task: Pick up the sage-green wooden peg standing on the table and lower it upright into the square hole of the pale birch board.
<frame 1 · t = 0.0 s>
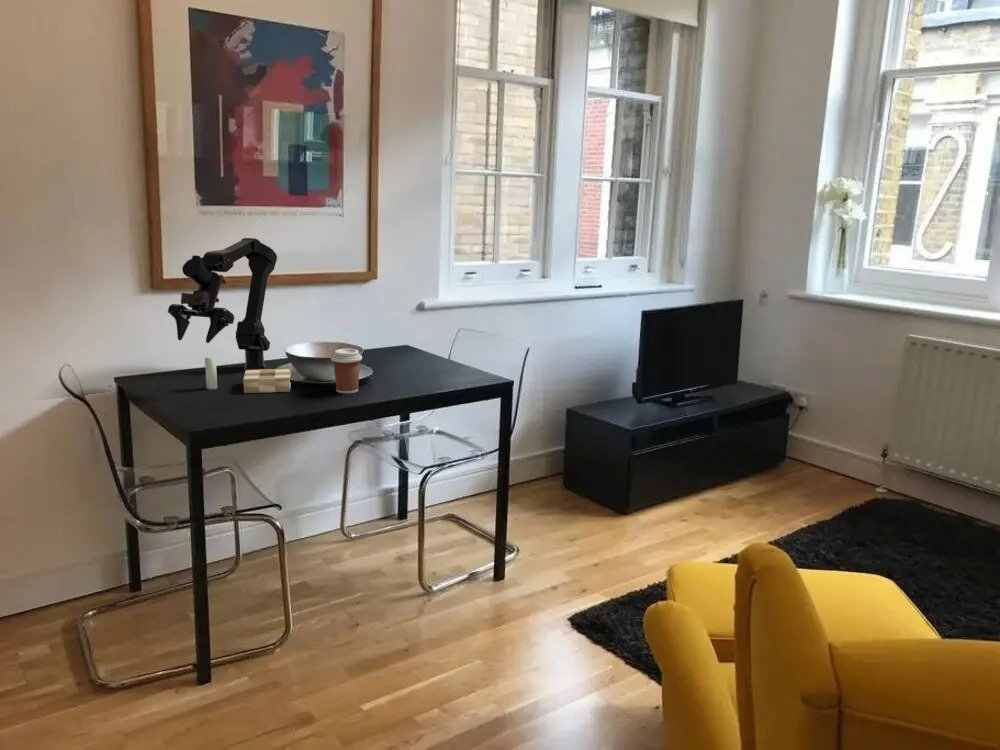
hand: (193, 341, 240), 15 cm above the table, fingers open, 9 cm apart
peg: (212, 388, 248), on the table
coffee cup: (347, 391, 249), on the table
hole board: (267, 387, 251), on the table
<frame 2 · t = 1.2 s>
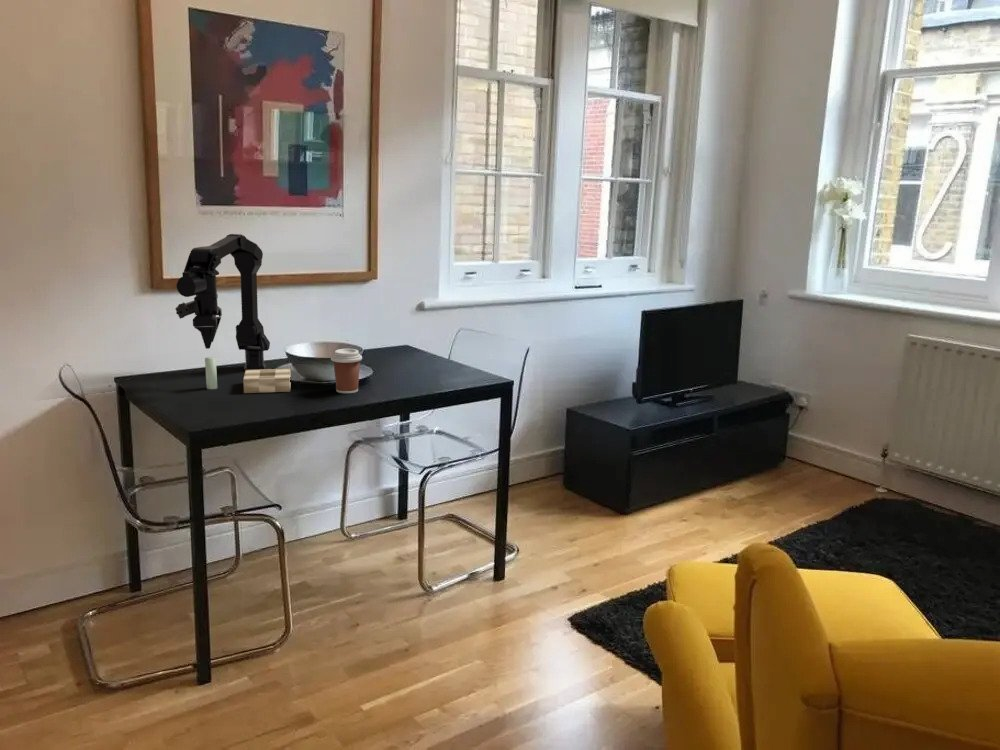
hand: (209, 345, 245), 13 cm above the table, fingers open, 9 cm apart
nothing on the table moved.
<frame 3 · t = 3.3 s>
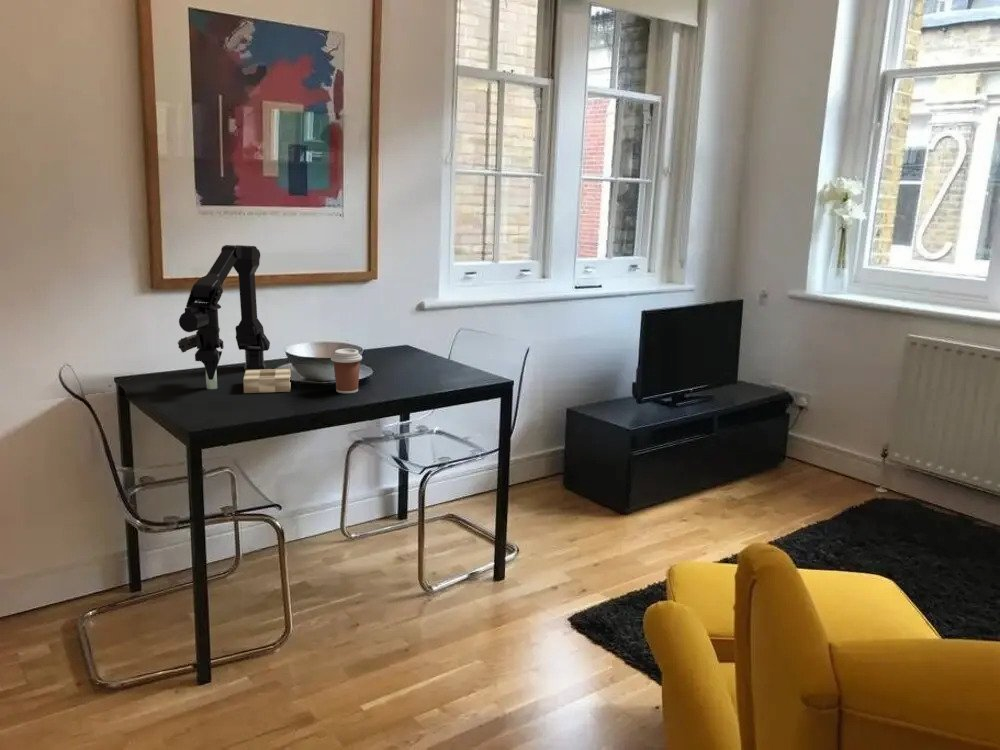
hand: (211, 378, 247), 3 cm above the table, fingers closed on peg, 3 cm apart
peg: (212, 388, 248), on the table, touching gripper
everything else where it was.
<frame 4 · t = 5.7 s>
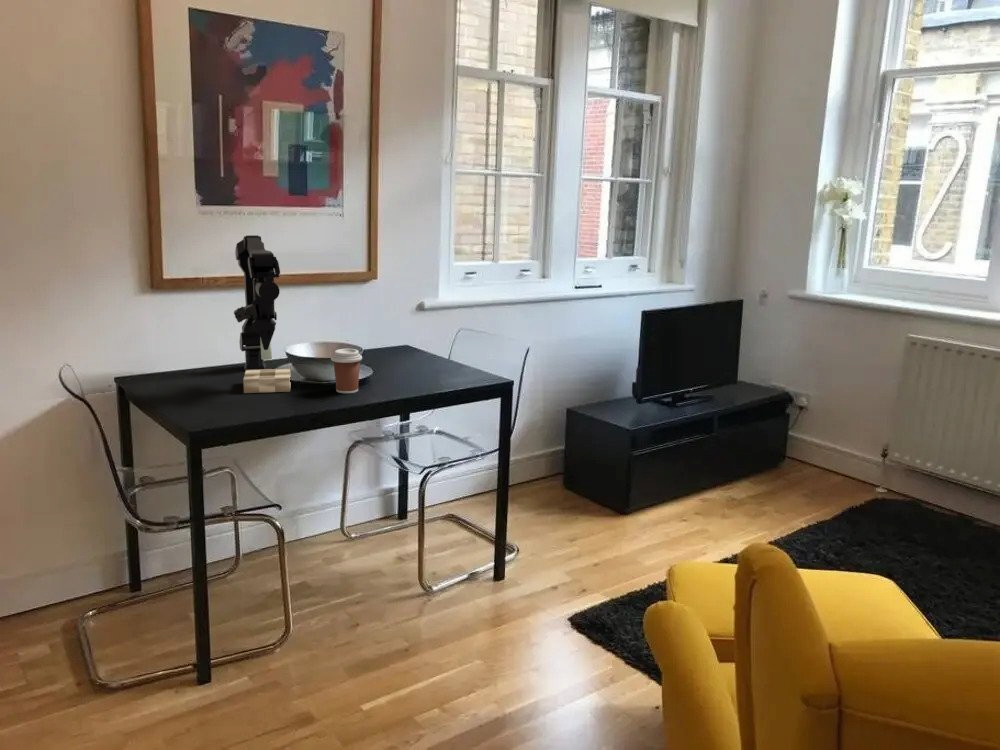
hand: (266, 348, 248), 12 cm above the table, fingers closed on peg, 3 cm apart
peg: (266, 358, 248), point 9 cm above the table, touching gripper
everything else where it was.
when the fingers open (5 cm above the table, at t = 8.1 s): peg drops 2 cm, resting in hole board.
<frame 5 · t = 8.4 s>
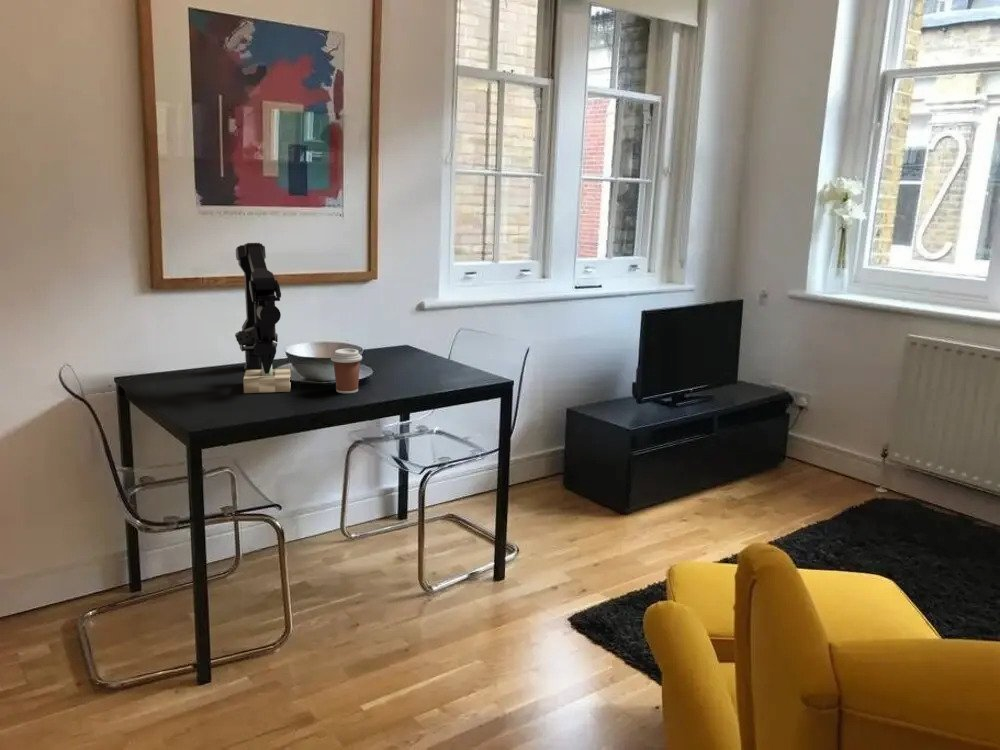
hand: (267, 370, 249), 5 cm above the table, fingers open, 6 cm apart
peg: (267, 387, 251), resting in hole board
everything else where it was.
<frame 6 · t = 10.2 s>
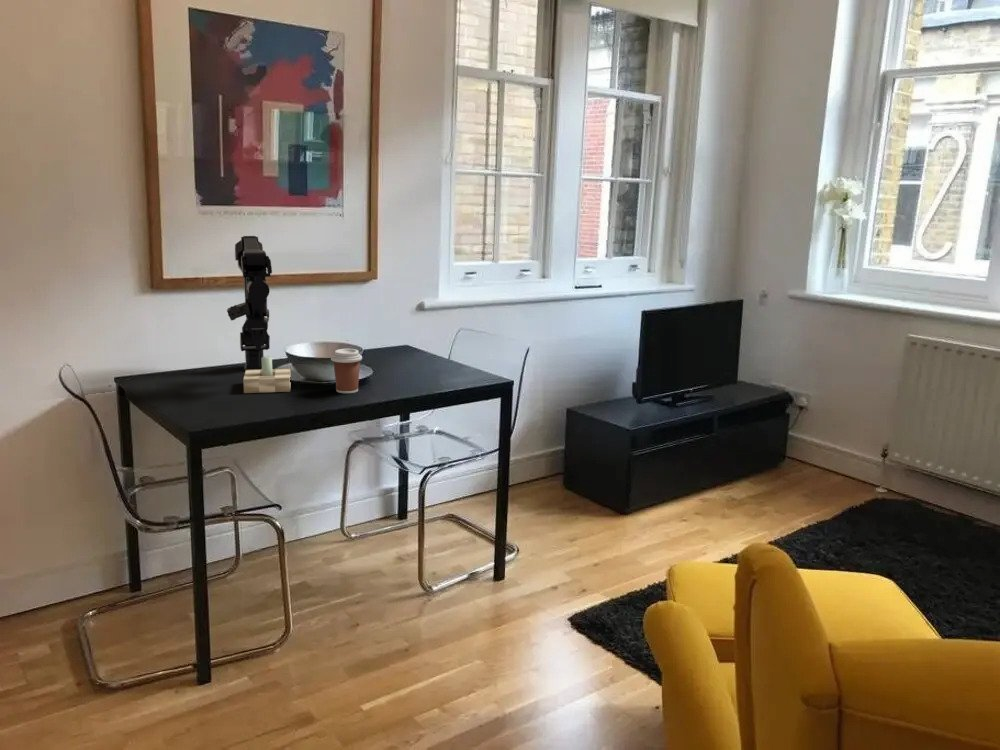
hand: (258, 346, 251), 12 cm above the table, fingers open, 9 cm apart
nothing on the table moved.
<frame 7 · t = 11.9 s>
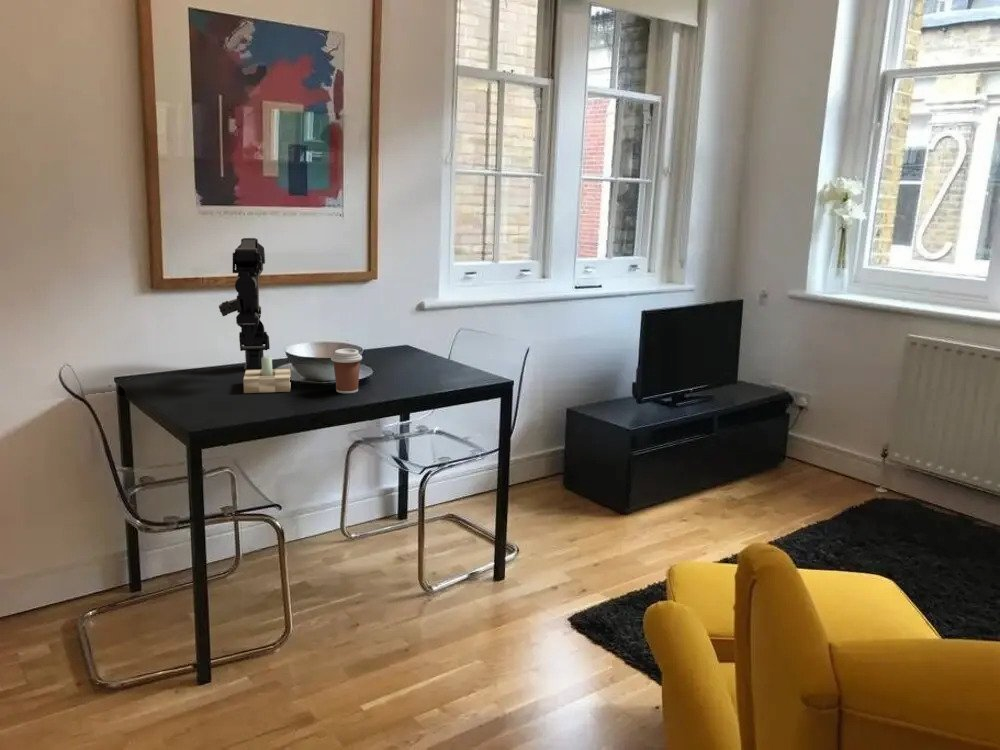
hand: (250, 341, 255), 12 cm above the table, fingers open, 9 cm apart
nothing on the table moved.
at the end: peg 0.0 cm off-centre on the hole board, point 0.0 cm above the hole board's base; peg tilted 0°; the gripper is holding nothing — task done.
